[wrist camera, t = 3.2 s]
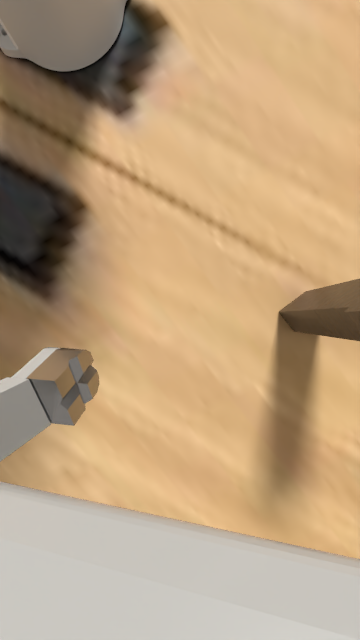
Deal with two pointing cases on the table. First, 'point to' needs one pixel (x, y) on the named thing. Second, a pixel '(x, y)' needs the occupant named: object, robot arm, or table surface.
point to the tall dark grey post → (327, 311)
